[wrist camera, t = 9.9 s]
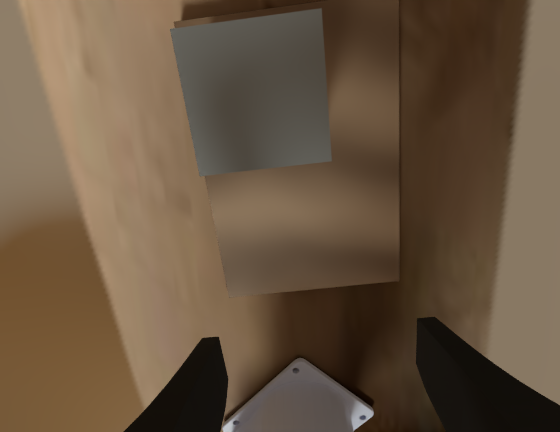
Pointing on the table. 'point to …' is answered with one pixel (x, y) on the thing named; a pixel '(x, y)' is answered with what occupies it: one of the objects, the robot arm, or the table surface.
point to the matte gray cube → (255, 91)
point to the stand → (324, 171)
